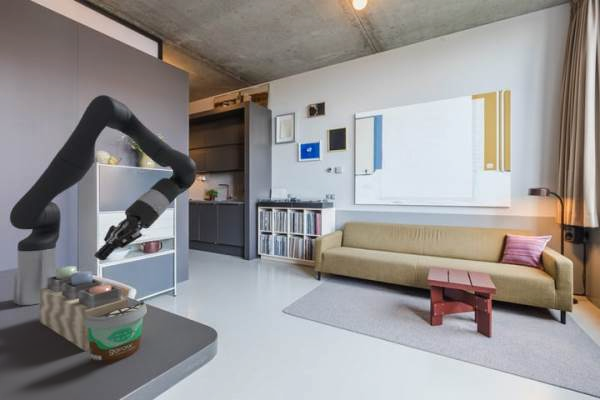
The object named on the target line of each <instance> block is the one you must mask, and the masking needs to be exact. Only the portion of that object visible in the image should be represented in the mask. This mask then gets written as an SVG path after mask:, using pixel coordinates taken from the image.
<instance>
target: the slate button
mask: <svg viewBox="0 0 600 400" xmlns="http://www.w3.org/2000/svg"><path fill="white" fill-rule="evenodd" d="M93 279H94V273H93V271H92V270H91V271H90V270H87V271H86V270H84V271H83V270H82V271H78V272H77V271H76V273H73V274H72V283H71V286H73V287H77V286H82V285H86V284H91V283H93Z"/></svg>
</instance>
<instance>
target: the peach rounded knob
mask: <svg viewBox="0 0 600 400" xmlns="http://www.w3.org/2000/svg"><path fill="white" fill-rule="evenodd" d="M110 285H111V284H110ZM110 285H106V284H102V285H101V286H96V287H92V288H90V289H89V293H91V294H97V293H101V292H105V291H109V290H111V286H110Z"/></svg>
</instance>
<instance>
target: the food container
mask: <svg viewBox="0 0 600 400" xmlns="http://www.w3.org/2000/svg"><path fill="white" fill-rule="evenodd" d="M147 312H148V310H147V305H146V303H145V300H144V299H141V300H140V303H138V304H134V305H131V306H128V307H126V308H120V309H116V310H113V311H111V312H109V313H107V314H104V315H101V316H98V317H90V316H87V317H86V319H85V322H84V327H87V328H88V336H89V345H90V350H89V351H90V353H89V354H90V361H91V362H93V363H94V364H109V363H115V362H119V361H122V360H124V359H125V360H126V359H127V358H129V357H131V356H133V355H134V354H135V353H137V352H138V350H139V349H140V345H141V339H142V337H141V336H142V329H143V320H144V316H145V315H146V314H147Z"/></svg>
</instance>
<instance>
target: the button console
mask: <svg viewBox="0 0 600 400" xmlns="http://www.w3.org/2000/svg"><path fill="white" fill-rule="evenodd" d="M71 283H72V278H69V279H64V280H59V281H58V280H56V275H55V276H54V277H48V278H47V288H43V289H40V303H39V323H41V324H42V325H44V326H45V327H48V328H49V329H51V330H52V331H53V332H55V333H57V334H58V335H60V336H61V337H63V338H64V339H66V340H68V341H69V342H70V343H72V344H74V345H75V346H76V347H78V348H80V349H81V350H83V351H85V352H86V351H90V345H89V336H88V328H87V327H84V322H85V319H86V317H87V316H90V317H98V316H101V315H104V314H107V313H109V312H111V311H113V310H116V309H120V308H126V307H129V299H128V298H126V297H123V296H122V288H121V287H118V286H116V285H113V284H109V283H107V284H105V285H110V286H111V290H109V291H105V292H101V293H97V294H91V293H89V289H90V288H92V287H96V286H101V285H103V282H102V281H101V280H98V279H94V278H93V283H91V284H86V285H82V286H77V287H73V286H71Z"/></svg>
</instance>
